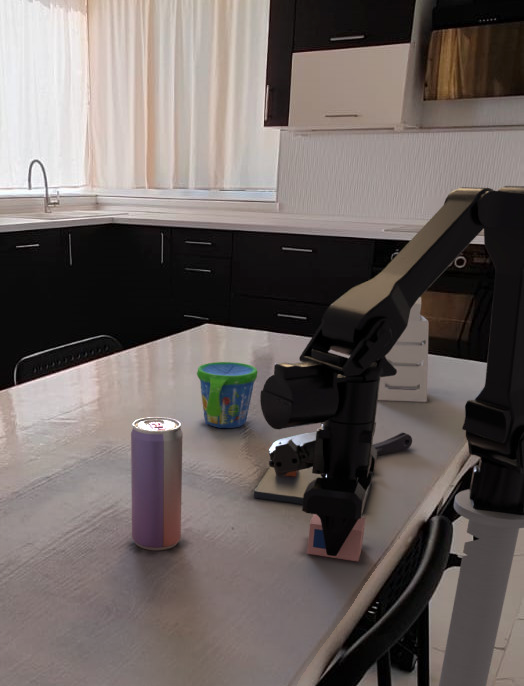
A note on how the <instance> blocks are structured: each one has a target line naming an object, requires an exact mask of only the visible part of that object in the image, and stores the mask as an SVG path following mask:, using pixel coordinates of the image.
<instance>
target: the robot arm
mask: <svg viewBox="0 0 524 686" xmlns="http://www.w3.org/2000/svg"><path fill="white" fill-rule="evenodd" d="M482 231H483V242H484V243H483V244H484V247H485V249H486V251H487V253H488V255H489V257H490V260H491V262H492V264H493V266H494V268H495V269H494V271H495V274H494V275H495V276H494V285H493V293H492V294H493V295H492V297H493V298H492V305H491V306H492V307H491V315H490V316H491V317H490V326H489V337H488V338H489V339H488V348H487V359H486V369H485V370H486V371H485V381H484V386H483V388H482V389H481V390H480V391H479V393H478V394H477V395H476V397H475V398H474V399H469V400H467V401H466V403H465V405H464V415H465V416H464V421H463V425H462V430H463V431H465V438H466V440H467V446H468V447H467V448H468V454H469V455H471V456H476V457H478V458H479V462H478V465H477V464H475V465H474V466H473V469H472V474H471V482H470V485H469V489H470V491H469V498H470V500H472V504H473V508H474V509H478V510H486V511H494V512H501V513H509V514H517V515H524V185H505V186H502V187H500V188H498V190H494V189H493V188H490V187H467V186H465V187H463V186H462V187H459V188H457V189H454V190H452V191H451V192H449V193H448V195H447V197H446V198H445V199H444V203H443V205H442V206H441V207H440V208H439V210H437V212H435V213H434V215H432V217H431V218H430V219H429V220H428V221H427V222H426V223H425V224H424V225H423V227H422V228H420V230H419V231H418V232H417V233H416V234H415V235H414V236H413V237H412V238H411V239H410V240H409V242H408V243H406V245H405V246H404V247H403V248H402V249H401V250H400V251H399V252H398V253H397V254H396V255H395V256H394V257H393V259H392V260H391V261H390V262H389V263H388V264H387V265H386V266H385V267H384V268H383V269H382V270H381V272H379V273H378V274H377V275H375V276H374V277H373V278H371V279H369V280H368V281H365V282H362V283H360V284H357V285H355V286H354V287H352V288H350V289H349V290H347V292H345V293H344V294H343V295H341V296H340V297H339V298H337V299H336V300H335V301H334V302H332V303H331V304H330V305H329V306H328V307H327V308H326V310H325V311H324V314H323V316H322V318H321V321H322V322H321V324H320V325H319V326H318V328H317V329H316V331H314V333H313V336H312V337H311V339H310V340H309V341H308V343H307V344H306V346H305V347H304V350H303V351H302V352H301V354H300V356H299V362H293V363H292V362H291V363H290V362H277V363H275V364H274V367H273V368H274V369H273V374H272V375H271V376H269V377H268V378H267V379H266V380H265V382H264V385H263V388H262V390H261V391H260V395H259V396H260V409H261V412H262V416H263V418H264V420H265V421H266V423H267V424H268V426H269V427H270V428H272V429H274V430H285V429H291V428H296V427H304V426H310V425H311V426H312V425H316V424H320V427H319V428H317V430H316V431H313V432H311V431H310V432H305V433H300V434H296V435H293V436H289V437H283V438H280V439H277V440H276V441H274V442H273V443H272V444H271V446H270V447H269V448H268V453H269V461H268V465H269V468H270V467H273V468H274V470H275V473H276V475H277V476H283V475H286V474H287V473H289V472H293V471H298V470H303V469H307V468H310V469H312V473H314V474H321V477H322V478H320V477H317V478H316V479H315V480H313V481H312V482H311V483H309V484H308V486H307V489H306V491H305V493H304V495H303V504H302V508H301V511H302V512H304V513H306V514H311V515H314V514H316V515H317V516H319V518H320V520H321V524H322V530H323V535H324V541H325V547H326V553H327V555H330V556H336V555H337V554H338V552H339V550H340V549H341V547H342V545H343V544H344V542H345V540H346V539H347V537H348V535H349V534H350V532H351V531H352V529H353V527H354V526H355V524H356V522H357V521H358V519H361V517H363V516H362V515H363V513H364V511H363V508H364V509H365V507H364V502H365V495H366V490H367V488H368V486H369V484H370V483H371V484H372V482H371V480H372V481H373V475H374V474H373V473H370V472H369V471H374V472H375V470H376V465H377V459H378V458H377V457H378V455H377V450H376V449H375V447H374V446H373V444H374V443H373V442H374V436H375V432H376V428H377V422H376V419H377V417H376V416H377V408H378V402H379V400H378V394H379V385H380V378H381V377H387V376H394V375H396V373H397V370H396V369H395V368H394V367H393V366H392V365H391V364H390V363H389V362H388V361H387V359H386V357H385V356H386V355H387V354H388V353H389V352H390V350H391V349H392V348H393V346H394V345H395V343H396V342H397V340H398V339H399V338H400V336H401V335H402V333H403V332H404V330H405V329H406V327H407V325H408V320H409V315H410V310H411V308H412V307H413V305H414V304H415V302H416V301H417V300H418V299H419V298H420V297H421V298H422V296H423V294H425V292H426V291H427V290H428V289H429V288H430V287H431V286H432V285H433V284H434V283H435V282H436V281H437V279H438V278H439V277H440V276H441V275H442V274H443V273H444V272H445V271H446V270H447V269H448V268H449V266H450V265H451V264H452V263H454V261H455V260H456V259H457V258H458V257H459V256H460V254H461V253H462V252H464V251H465V249H466V248H467V247H468V246H469V245H470V244H471V243H472V242H473V241H474V239H476V238H477V236H478V235H479V234H480V233H481V232H482ZM330 351H333V352H336V353H333V352H330ZM337 353H339V354H337ZM340 354H343V355H345V356H342V355H340ZM346 356H349V357H346ZM374 469H375V470H374Z"/></svg>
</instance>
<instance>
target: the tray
mask: <svg viewBox="0 0 524 686" xmlns="http://www.w3.org/2000/svg"><path fill="white" fill-rule="evenodd" d="M312 469H313V468H311V467H310V468H307V469H303V470H299V472H298V474H297V475H296V477H292V476H284V475H283V476H277V475H276V473H275V470H274V468H273V467H270V466H269V468H268V469H267V471H266V472H265V474H264V475H263V477H262V478H261V480H260V481H259V483H258V485H257V486H256V487H255V489H254V490H253V498H254V499H262V500H268V501H274V502H275V501H276V502H283V503H284V502H285V503H291V504H297V505H303V495H304V493H305V491H306V489H307V486H308V484H309V483H311V482H312V481H313V480H315V479H316V478H317V477H320V478H322V477H321V474H314V473H312ZM372 481H373V479H372V480H371V483H370V484H369V486H368V488H367V490H366V495H365V502H364V508H363V512H364V510H365V507H366V503H367V500H368V496H369V493H370V489H371V485H372Z"/></svg>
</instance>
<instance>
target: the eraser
mask: <svg viewBox="0 0 524 686" xmlns="http://www.w3.org/2000/svg"><path fill="white" fill-rule="evenodd" d="M365 525H366V517H363V516H361V519H358V521H357V522H356V524H355V526H354V527H353V529H352V531H351V532H350V534H349V535H348V537H347V539H346V540H345V542H344V544H343V545H342V547H341V549H340V550H339V552H338V554H337V555H336V556H330V555H327V553H326V547H325V541H324V535H323V530H322V524H321V520H320V518H319V516H317V515H316V514H312V518H311V520H310V522H309V527H308V528H309V529H308V539H307V540H308V541H307V550H306V551H307V552H306V554H307V555H314V556H318V557H327V558H332V559H339V560H344V561H345V560H346V561H352V562H359V560H360V558H361V557H360V556H361V552H362V549H363V542H364V534H365Z"/></svg>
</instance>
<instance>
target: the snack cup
mask: <svg viewBox="0 0 524 686" xmlns="http://www.w3.org/2000/svg"><path fill="white" fill-rule="evenodd" d="M196 375H197V378H198V380H199V381H200V393H201V403H202V409H203V418H204V422H205V425H210V426H212V427H214V428H219V429H235V428H240V427H242V426H243V425H245V423H246V421H247V419H248V414H249V410H250V405H251V400H252V395H253V390H254V384H255V381H256V379H257V377H258V369H257V367H255V366H254V365H251V364H247V363H243V362H235V361H234V362H233V361H218V362H217V361H216V362H208V363H204V364H200V365H199V366H198V368H197V371H196Z"/></svg>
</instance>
